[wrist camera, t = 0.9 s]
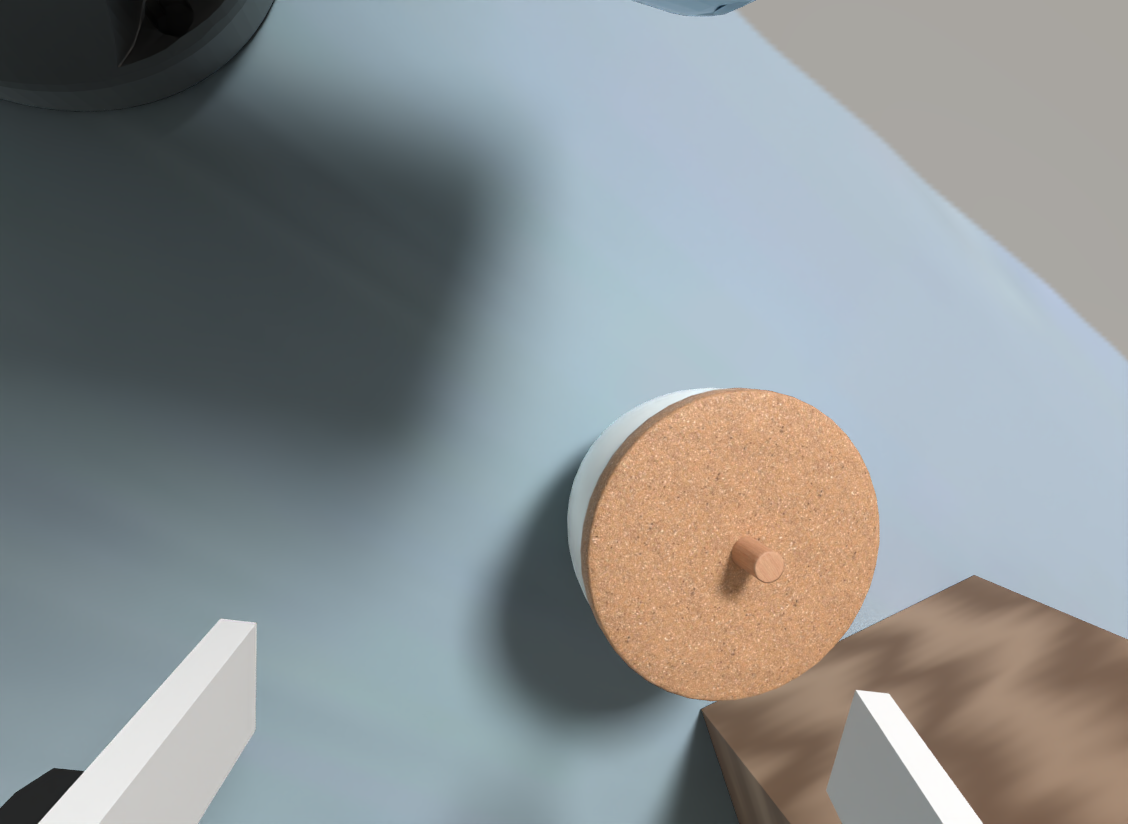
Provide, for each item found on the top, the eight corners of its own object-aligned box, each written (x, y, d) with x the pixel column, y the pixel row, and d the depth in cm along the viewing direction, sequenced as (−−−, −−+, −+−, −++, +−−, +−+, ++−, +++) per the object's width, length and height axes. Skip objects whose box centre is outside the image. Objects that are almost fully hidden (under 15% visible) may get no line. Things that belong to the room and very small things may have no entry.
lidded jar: (627, 657, 30) (723, 799, 20) (490, 474, 27) (529, 542, 18) (804, 514, 31) (968, 588, 22) (688, 328, 28) (818, 322, 19)
